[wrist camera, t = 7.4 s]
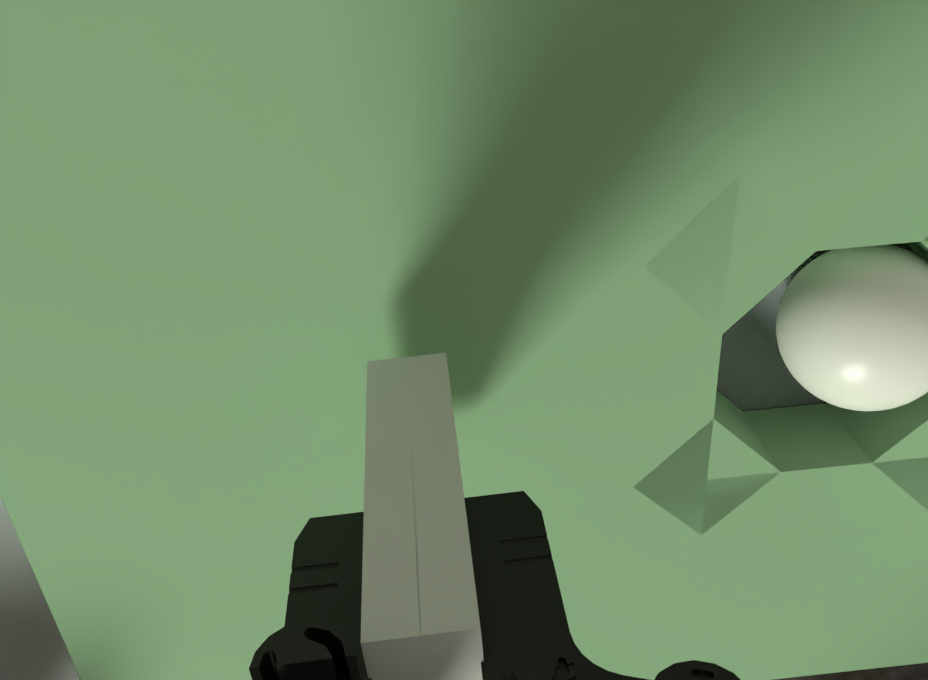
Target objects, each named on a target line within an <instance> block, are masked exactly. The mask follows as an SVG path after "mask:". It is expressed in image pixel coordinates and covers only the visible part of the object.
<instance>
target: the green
mask: <svg viewBox="0 0 928 680" xmlns="http://www.w3.org/2000/svg"><path fill="white" fill-rule="evenodd" d="M898 243H907V244H908V245H909V246H910V247H911V248H912V249H913V250H914V251H915V252H916V253H917V255H918V256H920V257H922V258H923V259H925V260H927V261H928V0H0V497H1V499H2V501H3V503H4V506H5V508H6V510H7V513H8V515H9V517H10V519H11V522H12V524H13V526H14V529H15V531H16V533H17V535H18V538H19V540H20V542H21V545H22V547H23V549H24V551H25V554H26V556H27V558H28V561H29V563H30V565H31V567H32V570H33V572H34V574H35V577H36V579H37V581H38V583H39V586H40V588H41V590H42V593H43V595H44V597H45V599H46V602H47V604H48V606H49V609H50V611H51V613H52V615H53V618H54V620H55V622H56V624H57V627H58V629H59V631H60V634H61V636H62V638H63V640H64V643H65V645H66V647H67V650H68V652H69V654H70V656H71V659H72V661H73V663H74V666H75V668H76V670H77V672H78V675H79V677H80V679H81V680H252V677H251V674H250V671H249V667H250V664H251V662H252V659H253V656H254V654H255V651H256V650H257V649H258V648H259V647H260V646H261V644H262V643H263V642H264V641H265V640H266V639H267V638H268V637H269V636H270V635H272V634H273V633H275V632H277V631H278V630H280V629H281V628H283V627H284V625H285V617H286V608H287V600H288V594H289V583H290V575H291V573H292V569H291V567H292V558H293V550H294V542H295V540H296V539H297V537H298V536H299V534H300V533H301V531H302V530H303V528H304V526H305V525H306V523H307V522H308V520H309V519H310V518H315V517H323V516H332V515H340V514H348V513H357V512H364V478H365V436H366V394H367V361H376V360H385V359H394V358H403V357H411V356H420V355H429V354H438V353H446V356H447V364H448V372H449V380H450V388H451V396H452V404H453V412H454V420H455V428H456V436H457V444H458V452H459V460H460V468H461V476H462V484H463V492H464V498H467V497H475V496H484V495H492V494H501V493H509V492H518V491H524V492H525V493H526V494H527V495H528V496H529V497H530V498H531V500H532V501H533V502H534V503H535V504H536V505H537V506H538V507H539V509H540V510H541V511H542V516H543V520H544V524H545V528H546V533H547V539H548V541H549V545H550V550H551V554H552V560H553V562H554V566H555V571H556V575H557V579H558V583H559V588H560V592H561V596H562V600H563V605H564V609H565V613H566V617H567V622H568V626H569V630H570V633H571V636H572V638H573V641H574V643H575V645H576V646H577V647H578V649H579V650H580V651H581V653H582V654H583V655H584V656H585V657H587V658H588V659H589V660H590V661H591V662H593V663H594V664H596V665H597V666H599V667H601V668H603V669H605V670H607V671H610V672H614V673H617V674H621V675H625V676H631V677H637V678H643V679H649V680H654V679H655V678H656V676H657V675H658V673H659V672H660V671H662V670H664V669H666V668H667V667H669V666H671V665H672V664H674V663H679V662H685V661H691V660H697V661H703V662H709V663H715V664H717V665H719V666H721V667H723V668H725V669H727V670H729V671H731V672H733V673H734V674H735V675H736V676H737V677H738V678H740V679H741V680H773V679H782V678H791V677H800V676H809V675H818V674H828V673H837V672H846V671H855V670H864V669H873V668H882V667H891V666H900V665H909V664H918V663H927V662H928V392H927V393H926V394H924V395H923V396H921V397H919V398H918V399H916V400H914V401H912V402H910V403H908V404H905V405H902V406H899V407H896V408H893V409H887V410H882V411H855V410H850V409H845V408H841V407H837V406H835V405H832V404H829V403H827V402H826V403H822V404H812V405H802V406H792V407H782V408H771V409H761V410H751V411H742V410H741V409H740V408H739V407H737V406H736V405H735V404H734V403H732V402H731V401H730V400H729V399H728V398H726V397H725V396H724V395H723V394H721V393H720V392H719V391H718V390H717V381H718V371H719V361H720V352H721V342H722V334H723V333H725V332H726V331H727V330H728V329H729V328H730V327H731V326H732V325H734V324H735V323H736V322H737V321H738V320H739V319H740V318H741V317H743V316H744V315H745V314H746V313H747V312H748V311H749V310H750V309H752V308H753V307H754V306H755V305H756V304H757V303H758V302H759V301H761V300H762V299H763V298H764V297H765V296H766V295H767V294H768V293H770V292H771V291H772V290H773V289H774V288H775V287H776V286H777V285H779V284H780V283H781V282H782V281H783V280H784V279H785V278H786V277H787V276H789V275H790V274H791V273H792V272H793V271H794V270H795V269H796V268H798V267H799V266H800V265H801V264H802V263H803V262H804V261H805V260H807V259H808V258H809V257H810V256H811V255H812V254H813V253H814V252H816V251H822V250H833V249H844V248H855V247H866V246H877V245H887V244H898Z"/></svg>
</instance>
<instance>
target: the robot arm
mask: <svg viewBox="0 0 928 680" xmlns="http://www.w3.org/2000/svg"><path fill="white" fill-rule="evenodd" d="M291 569H292V573H291V575H290V583H289V594H288V600H287V608H286V617H285V625H284V627H283V628H281V629H280V630H278V631H277V632H275V633H273V634H272V635H270V636H269V637H268V638H267V639H266V640H265V641H264V642H263V643H262V644H261V646H260V647H259V648H258V649H257V650H256V651H255V654H254V656H253V659H252V662H251V664H250V667H249V671H250V674H251V677H252V680H649V679H643V678H637V677H631V676H625V675H621V674H617V673H614V672H610V671H607V670H605V669H603V668H601V667H599V666H597V665H596V664H594V663H593V662H591V661H590V660H589V659H588V658H587V657H585V656H584V655H583V654H582V653H581V651H580V650H579V649H578V647H577V646H576V645H575V643H574V641H573V638H572V636H571V633H570V630H569V626H568V622H567V617H566V613H565V609H564V605H563V600H562V596H561V592H560V588H559V583H558V579H557V575H556V571H555V566H554V562H553V560H552V554H551V550H550V545H549V541H548V539H547V533H546V528H545V524H544V520H543V516H542V511H541V510H540V509H539V507H538V506H537V505H536V504H535V503H534V502H533V501H532V500H531V498H530V497H529V496H528V495H527V494H526V493H525V492H524V491H518V492H509V493H501V494H492V495H484V496H475V497H467V498H464V492H463V484H462V476H461V468H460V460H459V452H458V444H457V436H456V428H455V420H454V412H453V404H452V396H451V388H450V380H449V372H448V364H447V356H446V353H438V354H429V355H420V356H411V357H403V358H394V359H385V360H376V361H367V394H366V436H365V478H364V512H357V513H348V514H340V515H332V516H323V517H315V518H310V519H309V520H308V522H307V523H306V525H305V526H304V528H303V530H302V531H301V533H300V534H299V536H298V537H297V539H296V540H295V542H294V550H293V558H292V567H291ZM654 680H741V679H740V678H738V677H737V676H736V675H735V674H734V673H733V672H731V671H729V670H727V669H725V668H723V667H721V666H719V665H717V664H715V663H709V662H703V661H697V660H691V661H685V662H679V663H674V664H672V665H671V666H669V667H667V668H666V669H664V670H662V671H660V672H659V673H658V675H657V676H656V678H655V679H654Z"/></svg>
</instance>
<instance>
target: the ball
mask: <svg viewBox="0 0 928 680" xmlns="http://www.w3.org/2000/svg"><path fill="white" fill-rule="evenodd" d="M776 336H777V343H778V347H779V351H780V354H781V356H782V358H783V361H784V363H785V365H786V367H787V368H788V370H789V371H790V373H791V374H792V375H793V377H794V378H795V379H796V380H797V381H798V382H799V383H800V384H801V385H802V386H803V387H804V388H805V389H806V390H808V391H809V392H810V393H812V394H813V395H814V396H816V397H817V398H819V399H821V400H823V401H825V402H827V403H829V404H832V405H835V406H837V407H841V408H845V409H850V410H855V411H882V410H887V409H893V408H896V407H899V406H902V405H905V404H908V403H910V402H912V401H914V400H916V399H918V398H919V397H921V396H923V395H924V394H926V393H927V392H928V261H927V260H925V259H923V258H922V257H920V256H918V255H917V254H915V253H913V252H911V251H908V250H906V249H903V248H900V247H897V246H893V245H889V244H887V245H877V246H866V247H855V248H844V249H833V250H831V251H828V252H826V253H824V254H822V255H820V256H818V257H817V258H816V259H814V260H813V261H811V262H810V263H808V264H807V265H806V266H805V267H804V268H803V269H801V270H800V271H799V272H798V273H797V275H796V276H795V277H794V278H793V280H792V281H791V282H790V284H789V285H788V287H787V289H786V290H785V292H784V294H783V296H782V299H781V301H780V304H779V308H778V313H777V318H776Z"/></svg>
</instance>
